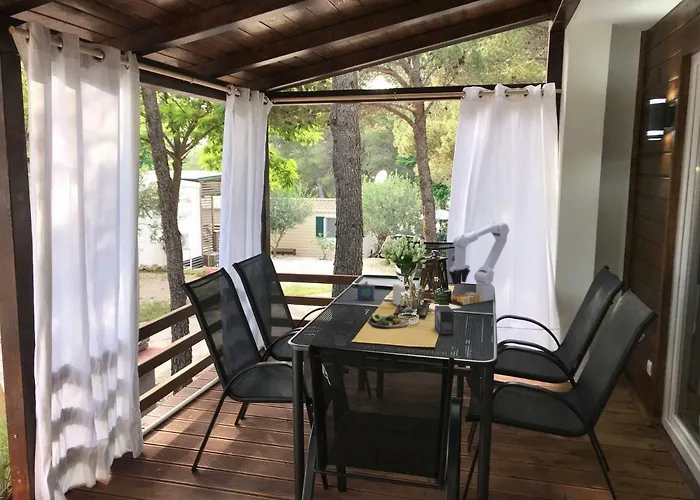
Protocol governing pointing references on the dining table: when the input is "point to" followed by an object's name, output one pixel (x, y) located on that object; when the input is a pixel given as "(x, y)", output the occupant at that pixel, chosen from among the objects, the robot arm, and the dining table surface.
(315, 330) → the dining table surface
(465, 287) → the dining table surface
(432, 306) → the mat
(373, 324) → the salad plate
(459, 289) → the dining table surface
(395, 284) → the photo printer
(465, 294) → the candy box
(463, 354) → the dining table surface
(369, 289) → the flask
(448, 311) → the small box
